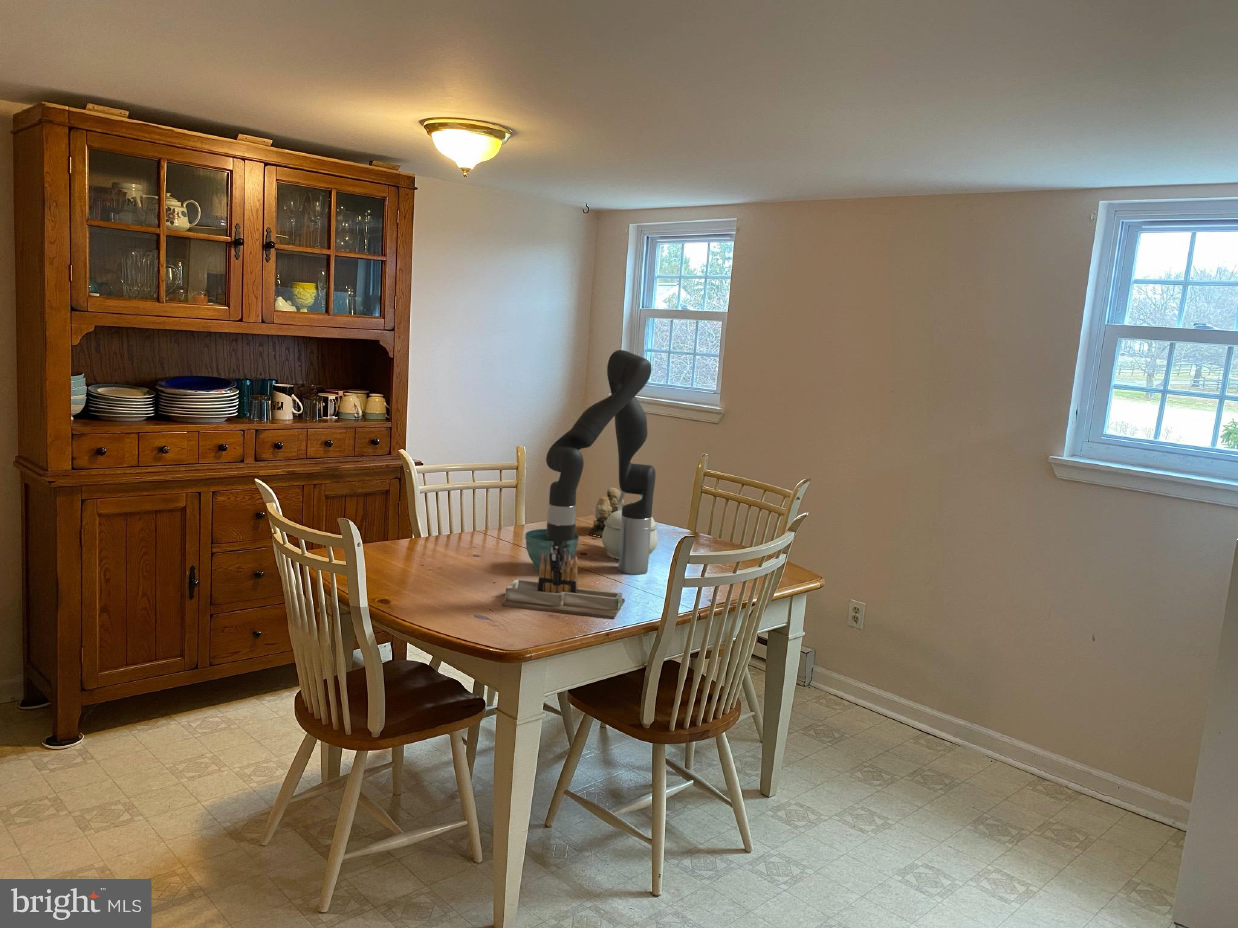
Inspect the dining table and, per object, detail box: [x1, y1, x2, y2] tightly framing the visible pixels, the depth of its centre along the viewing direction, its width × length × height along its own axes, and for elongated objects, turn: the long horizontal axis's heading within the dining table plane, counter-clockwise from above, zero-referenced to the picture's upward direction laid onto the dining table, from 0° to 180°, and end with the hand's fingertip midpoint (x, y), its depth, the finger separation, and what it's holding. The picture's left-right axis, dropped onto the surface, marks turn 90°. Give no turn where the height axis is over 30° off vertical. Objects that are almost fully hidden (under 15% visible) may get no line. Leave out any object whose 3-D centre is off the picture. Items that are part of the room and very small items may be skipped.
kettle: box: [601, 491, 659, 560], centre depth 302 cm, size 25×18×25 cm
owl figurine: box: [588, 487, 625, 537], centre depth 333 cm, size 18×12×17 cm, turn 158°
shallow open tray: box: [501, 578, 626, 620], centre depth 246 cm, size 16×30×4 cm, turn 80°
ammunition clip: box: [538, 552, 579, 594], centre depth 246 cm, size 11×2×12 cm, turn 80°
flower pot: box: [524, 528, 580, 572], centre depth 279 cm, size 16×16×11 cm
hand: (557, 583), depth 246 cm, fingers closed on ammunition clip, 2 cm apart
